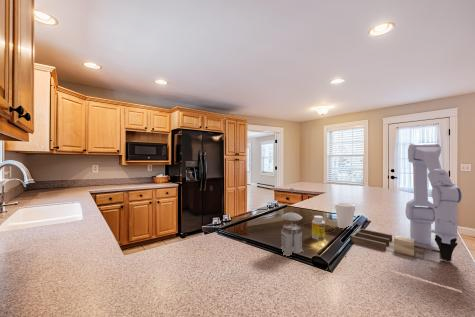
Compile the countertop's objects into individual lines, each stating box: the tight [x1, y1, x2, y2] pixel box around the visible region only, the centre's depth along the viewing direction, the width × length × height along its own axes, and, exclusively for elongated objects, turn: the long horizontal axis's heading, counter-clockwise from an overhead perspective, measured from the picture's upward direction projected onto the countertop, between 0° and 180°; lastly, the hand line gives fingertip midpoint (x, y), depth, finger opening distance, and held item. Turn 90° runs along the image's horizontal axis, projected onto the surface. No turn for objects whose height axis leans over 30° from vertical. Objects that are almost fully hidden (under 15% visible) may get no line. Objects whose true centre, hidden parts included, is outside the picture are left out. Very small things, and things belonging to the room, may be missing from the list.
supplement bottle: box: [311, 215, 326, 241], centre depth 98 cm, size 6×6×10 cm
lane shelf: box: [349, 227, 426, 261], centre depth 90 cm, size 15×24×3 cm, turn 46°
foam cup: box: [334, 202, 356, 229], centre depth 113 cm, size 10×9×13 cm
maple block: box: [393, 235, 453, 262], centre depth 80 cm, size 4×16×5 cm, turn 46°
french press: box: [280, 187, 303, 257], centre depth 83 cm, size 10×12×25 cm
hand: (445, 258), depth 75 cm, fingers closed on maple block, 3 cm apart
